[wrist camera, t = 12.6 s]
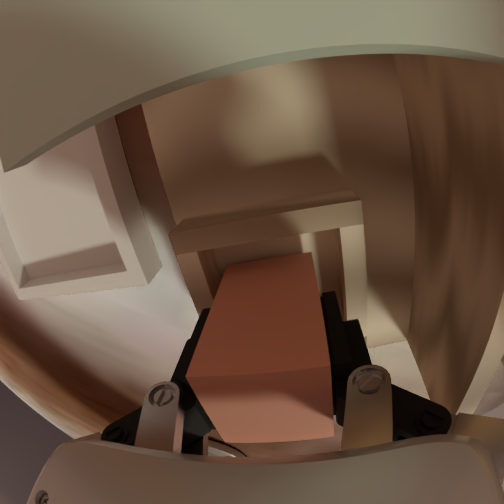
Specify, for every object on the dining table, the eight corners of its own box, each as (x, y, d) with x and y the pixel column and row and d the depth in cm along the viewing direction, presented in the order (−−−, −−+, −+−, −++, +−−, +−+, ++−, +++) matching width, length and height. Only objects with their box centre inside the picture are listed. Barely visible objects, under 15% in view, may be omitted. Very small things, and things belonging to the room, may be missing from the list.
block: (320, 320, 15) (333, 436, 8) (246, 329, 15) (225, 442, 9) (311, 251, 13) (330, 365, 7) (227, 265, 14) (185, 376, 8)
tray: (161, 266, 17) (148, 284, 15) (33, 287, 20) (19, 300, 18) (100, 46, 11) (79, 41, 9) (-17, 138, 14) (-35, 143, 12)
